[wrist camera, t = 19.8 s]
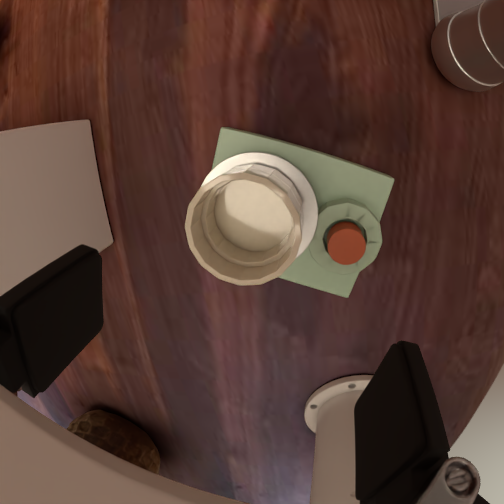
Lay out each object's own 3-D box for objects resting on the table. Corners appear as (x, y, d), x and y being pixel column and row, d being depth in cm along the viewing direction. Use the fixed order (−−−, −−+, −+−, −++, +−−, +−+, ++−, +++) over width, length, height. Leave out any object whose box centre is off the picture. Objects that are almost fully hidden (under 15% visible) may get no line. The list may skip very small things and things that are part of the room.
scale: (393, 176, 24) (404, 184, 21) (349, 289, 29) (353, 309, 25) (227, 126, 25) (214, 127, 22) (202, 244, 30) (188, 259, 26)
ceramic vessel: (29, 374, 33) (59, 552, 17) (173, 389, 49) (220, 526, 33) (20, 419, 42) (42, 539, 26) (126, 427, 58) (158, 531, 42)
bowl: (316, 179, 22) (316, 193, 18) (287, 268, 25) (281, 298, 21) (218, 152, 22) (196, 160, 18) (200, 241, 25) (178, 266, 21)
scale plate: (334, 172, 22) (334, 173, 21) (297, 282, 25) (297, 284, 25) (210, 138, 22) (209, 138, 22) (189, 249, 26) (187, 251, 26)
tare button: (368, 227, 23) (371, 235, 21) (355, 260, 24) (357, 269, 23) (333, 216, 23) (335, 223, 22) (321, 249, 24) (322, 258, 23)
